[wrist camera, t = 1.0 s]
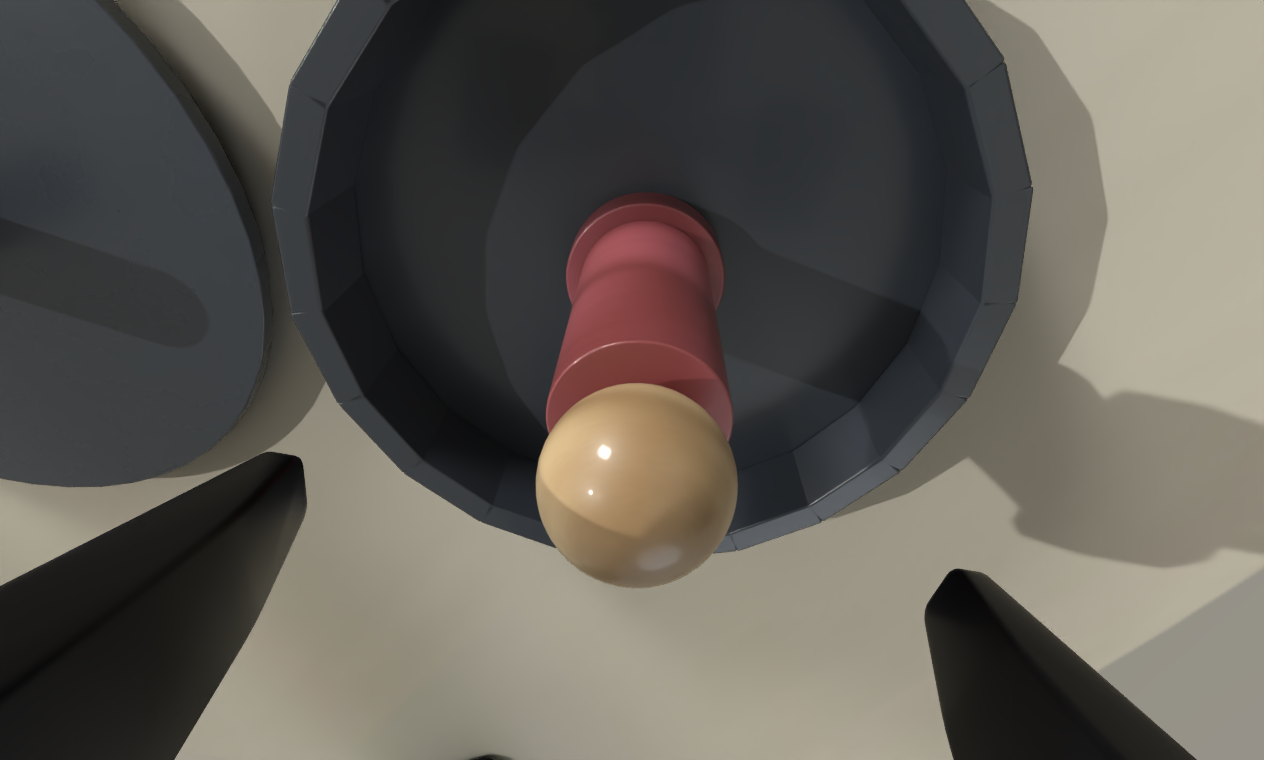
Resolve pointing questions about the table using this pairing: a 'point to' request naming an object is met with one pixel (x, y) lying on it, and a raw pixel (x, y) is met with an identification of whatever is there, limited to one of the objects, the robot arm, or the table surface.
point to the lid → (116, 257)
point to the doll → (640, 399)
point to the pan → (667, 164)
